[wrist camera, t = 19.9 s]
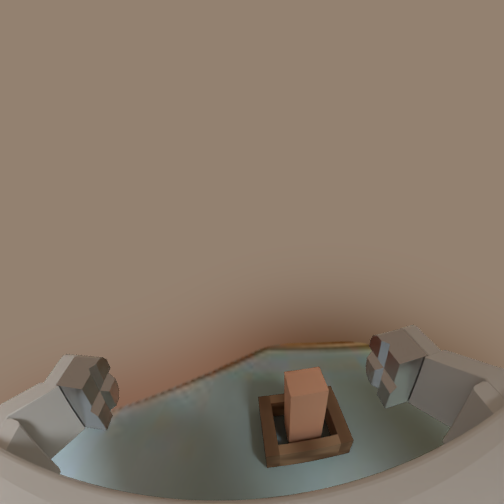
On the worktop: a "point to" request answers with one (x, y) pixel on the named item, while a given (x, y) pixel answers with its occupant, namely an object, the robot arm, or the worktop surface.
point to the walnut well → (305, 449)
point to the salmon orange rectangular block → (304, 404)
